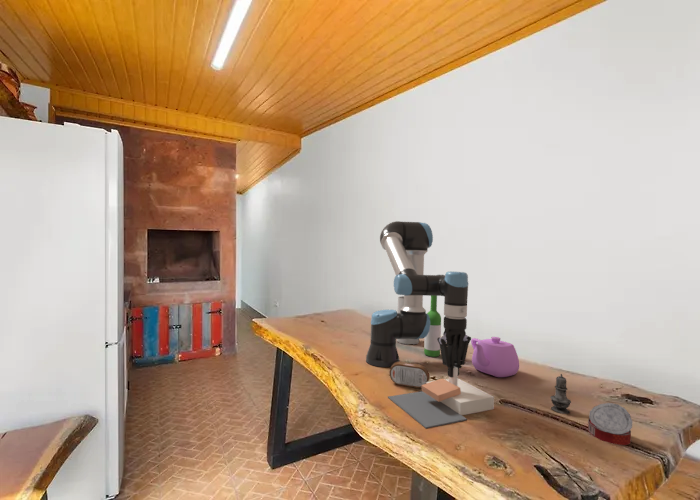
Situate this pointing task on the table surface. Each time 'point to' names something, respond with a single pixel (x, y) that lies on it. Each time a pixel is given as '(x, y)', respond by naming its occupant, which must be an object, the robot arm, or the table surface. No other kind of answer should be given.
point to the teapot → (495, 357)
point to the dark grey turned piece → (560, 396)
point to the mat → (426, 409)
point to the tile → (441, 389)
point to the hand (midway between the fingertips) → (452, 385)
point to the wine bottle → (433, 331)
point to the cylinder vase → (400, 305)
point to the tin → (409, 374)
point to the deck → (469, 399)
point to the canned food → (610, 424)
